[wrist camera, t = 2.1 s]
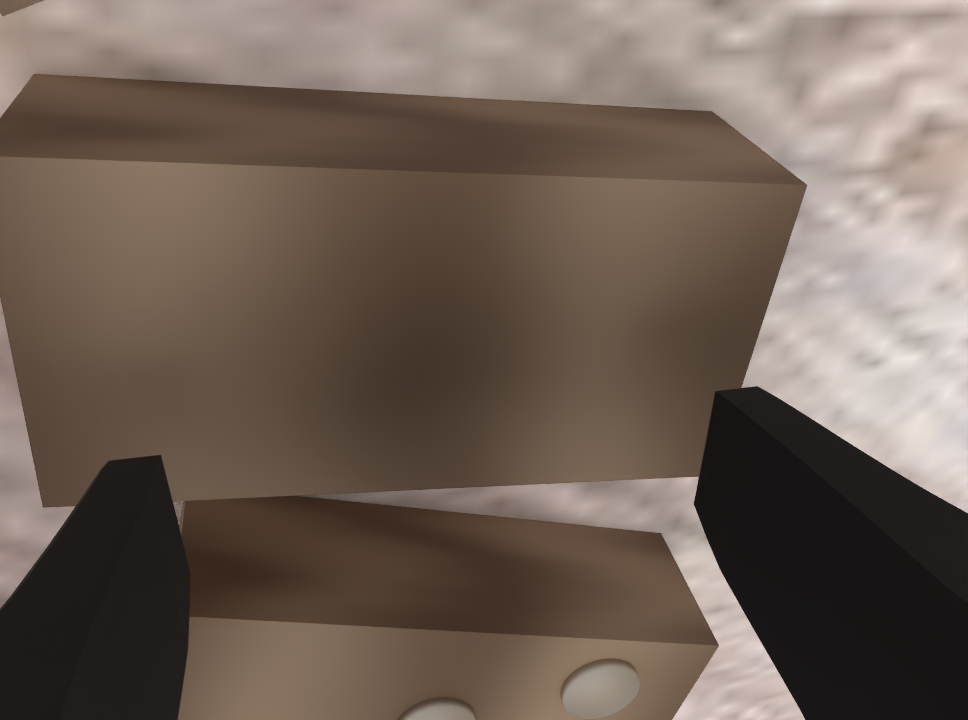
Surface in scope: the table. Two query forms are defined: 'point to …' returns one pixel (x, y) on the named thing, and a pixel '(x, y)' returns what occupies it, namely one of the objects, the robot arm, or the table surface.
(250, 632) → the pip block three
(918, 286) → the table surface
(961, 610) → the robot arm
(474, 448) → the plain block
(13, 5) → the pip block five
